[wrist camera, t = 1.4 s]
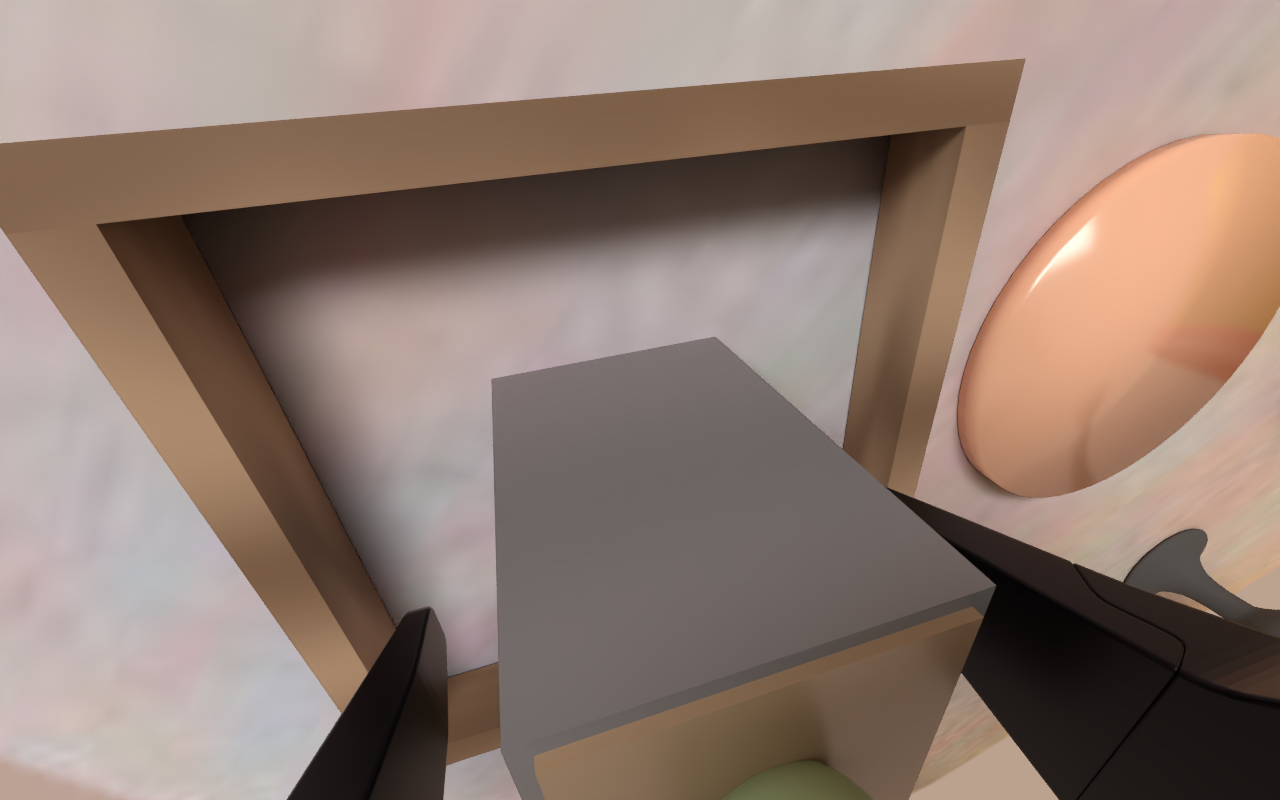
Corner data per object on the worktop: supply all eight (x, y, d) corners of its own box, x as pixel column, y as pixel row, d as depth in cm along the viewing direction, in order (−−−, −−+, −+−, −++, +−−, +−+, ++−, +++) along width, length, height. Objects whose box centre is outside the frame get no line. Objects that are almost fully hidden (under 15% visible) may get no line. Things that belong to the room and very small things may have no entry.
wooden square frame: (845, 575, 19) (882, 620, 17) (401, 712, 16) (390, 783, 14) (939, 70, 11) (1025, 58, 9) (65, 144, 8) (-55, 148, 6)
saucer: (1167, 445, 20) (1190, 456, 20) (923, 517, 18) (940, 531, 18) (1350, 115, 15) (1393, 114, 14) (1023, 157, 12) (1054, 159, 12)
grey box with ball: (716, 503, 15) (1027, 1002, 6) (536, 549, 14) (618, 1225, 5) (714, 336, 12) (1257, 814, 4) (491, 378, 11) (511, 1196, 3)
